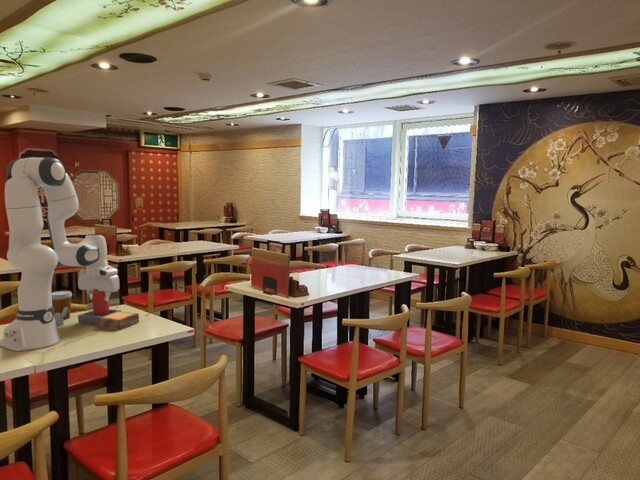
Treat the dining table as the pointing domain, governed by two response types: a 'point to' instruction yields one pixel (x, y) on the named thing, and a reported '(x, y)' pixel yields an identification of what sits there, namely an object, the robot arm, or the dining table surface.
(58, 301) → the disposable coffee cup
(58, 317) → the lighter
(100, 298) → the beer can
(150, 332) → the dining table surface
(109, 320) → the checker stand
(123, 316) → the orange square panel
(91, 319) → the tray
